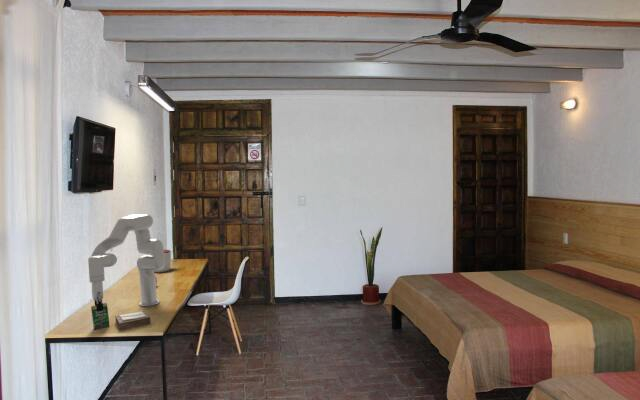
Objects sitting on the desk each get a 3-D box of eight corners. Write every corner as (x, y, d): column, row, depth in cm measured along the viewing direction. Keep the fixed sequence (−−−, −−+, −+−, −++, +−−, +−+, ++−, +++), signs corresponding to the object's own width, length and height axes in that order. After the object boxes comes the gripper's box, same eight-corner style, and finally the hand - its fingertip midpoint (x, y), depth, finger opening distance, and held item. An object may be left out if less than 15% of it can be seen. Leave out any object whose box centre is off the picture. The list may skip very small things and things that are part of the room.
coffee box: (93, 330, 252) (91, 306, 251) (92, 328, 255) (90, 305, 254) (109, 326, 257) (107, 303, 256) (108, 325, 259) (106, 302, 258)
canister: (155, 269, 409) (154, 245, 407) (175, 268, 408) (174, 245, 407) (147, 274, 391) (145, 249, 389) (168, 273, 390) (166, 248, 389)
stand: (115, 322, 263) (115, 314, 263) (145, 316, 272) (144, 309, 271) (120, 330, 250) (119, 322, 249) (150, 324, 258) (150, 316, 258)
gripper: (88, 276, 259) (90, 306, 260) (91, 282, 244) (93, 313, 245) (102, 274, 263) (104, 304, 264) (106, 280, 248) (108, 311, 249)
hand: (99, 309), depth 254 cm, fingers open, 9 cm apart
